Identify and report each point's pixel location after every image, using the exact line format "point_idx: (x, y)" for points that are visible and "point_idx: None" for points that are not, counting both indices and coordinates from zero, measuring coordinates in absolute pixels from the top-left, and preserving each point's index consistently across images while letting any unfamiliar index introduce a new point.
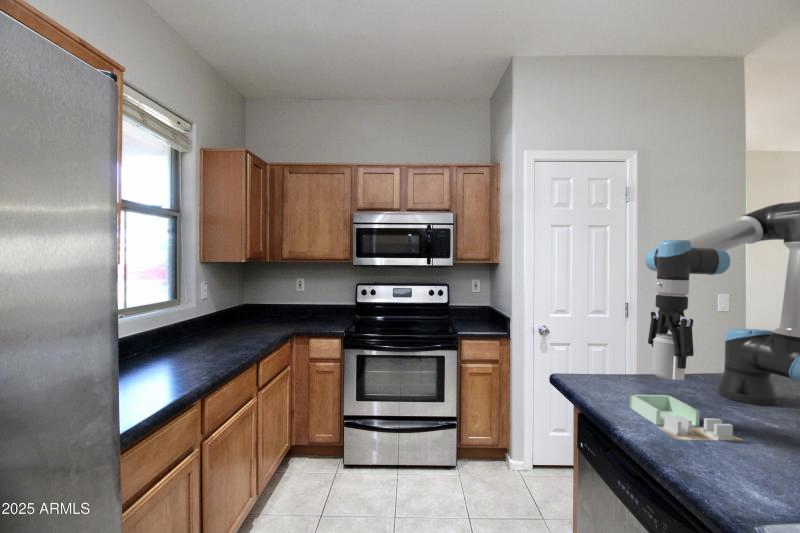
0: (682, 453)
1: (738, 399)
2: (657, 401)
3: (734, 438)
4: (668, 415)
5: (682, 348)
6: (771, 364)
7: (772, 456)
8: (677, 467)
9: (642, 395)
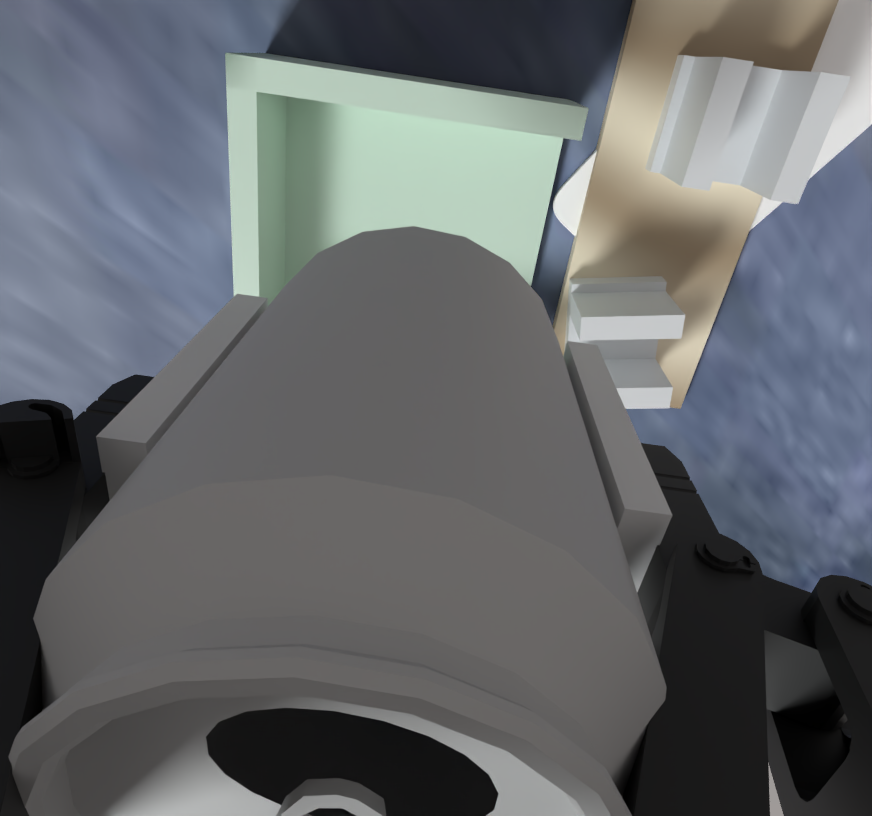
0: (764, 462)
1: None
2: (270, 181)
3: (796, 36)
4: None
5: (811, 794)
6: None
7: None
8: (829, 558)
9: None
